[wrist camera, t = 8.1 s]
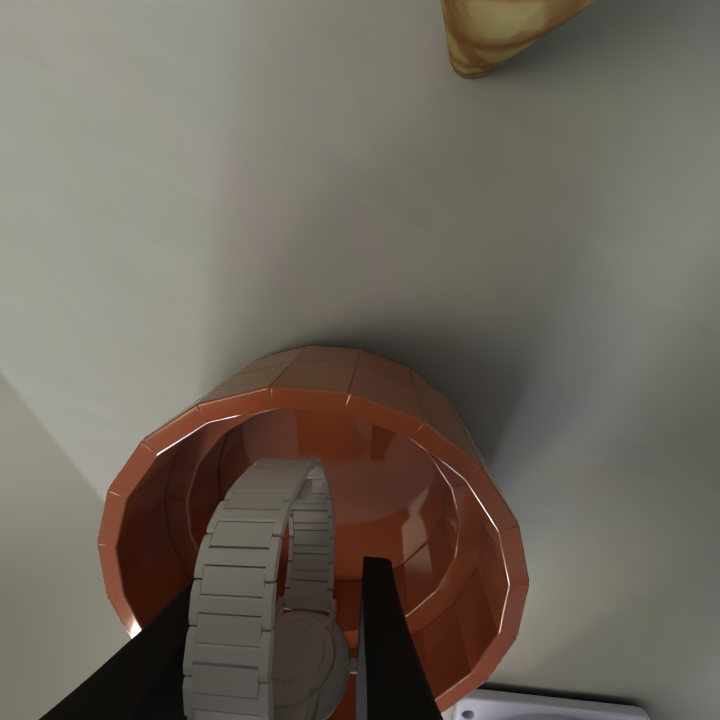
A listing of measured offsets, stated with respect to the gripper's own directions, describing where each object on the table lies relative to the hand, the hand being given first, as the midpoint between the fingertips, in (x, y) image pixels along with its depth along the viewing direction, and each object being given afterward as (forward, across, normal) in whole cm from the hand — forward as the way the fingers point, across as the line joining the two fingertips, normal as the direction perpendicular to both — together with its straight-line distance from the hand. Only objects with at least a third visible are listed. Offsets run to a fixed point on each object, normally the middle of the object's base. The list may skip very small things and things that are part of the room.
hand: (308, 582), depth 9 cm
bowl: (+4, 0, 0) cm, 4 cm away
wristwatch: (+2, 0, -1) cm, 2 cm away
